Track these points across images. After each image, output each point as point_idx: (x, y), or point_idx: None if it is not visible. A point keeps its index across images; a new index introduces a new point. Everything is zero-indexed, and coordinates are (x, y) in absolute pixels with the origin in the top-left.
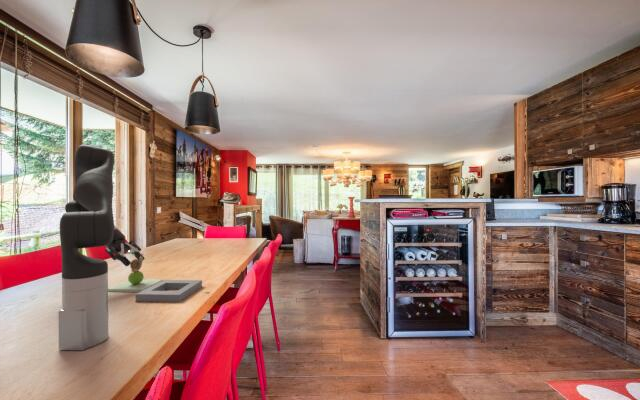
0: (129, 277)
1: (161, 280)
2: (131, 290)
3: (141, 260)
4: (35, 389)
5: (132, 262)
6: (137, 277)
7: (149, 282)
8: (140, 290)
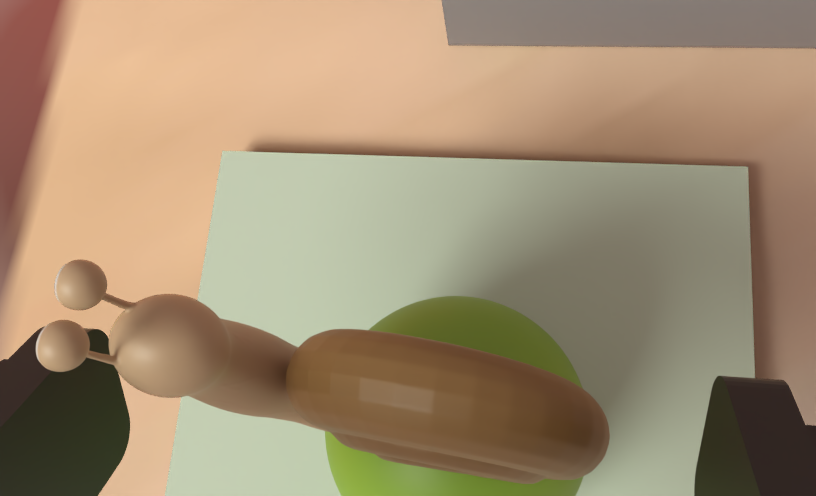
0: (576, 490)
1: (265, 154)
2: (749, 342)
3: (239, 324)
4: None
5: (580, 405)
6: (549, 338)
7: (377, 265)
8: (743, 203)
